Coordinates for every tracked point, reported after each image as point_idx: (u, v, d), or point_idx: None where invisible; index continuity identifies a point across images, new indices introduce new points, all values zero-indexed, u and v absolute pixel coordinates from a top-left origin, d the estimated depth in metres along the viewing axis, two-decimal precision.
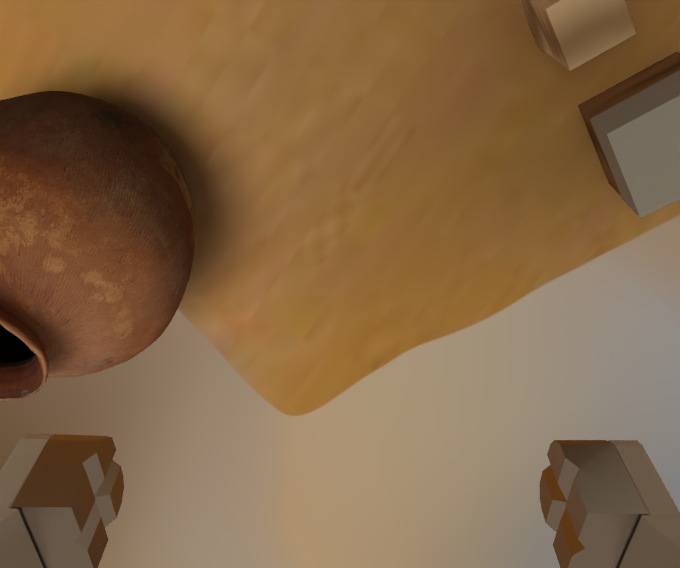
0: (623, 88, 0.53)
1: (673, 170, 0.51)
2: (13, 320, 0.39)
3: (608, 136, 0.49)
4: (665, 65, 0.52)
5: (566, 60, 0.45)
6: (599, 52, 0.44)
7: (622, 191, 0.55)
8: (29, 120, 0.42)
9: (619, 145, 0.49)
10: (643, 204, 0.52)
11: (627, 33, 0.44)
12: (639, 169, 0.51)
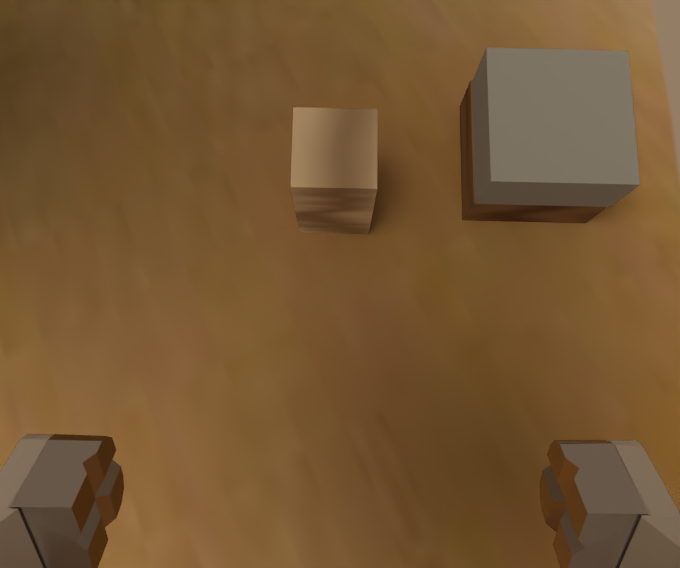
0: (465, 164, 0.43)
1: (587, 126, 0.37)
2: None
3: (495, 180, 0.36)
4: (464, 117, 0.44)
5: (362, 188, 0.35)
6: (375, 151, 0.35)
7: (594, 200, 0.39)
8: None
9: (515, 172, 0.36)
10: (620, 174, 0.36)
11: (371, 117, 0.35)
12: (564, 161, 0.36)
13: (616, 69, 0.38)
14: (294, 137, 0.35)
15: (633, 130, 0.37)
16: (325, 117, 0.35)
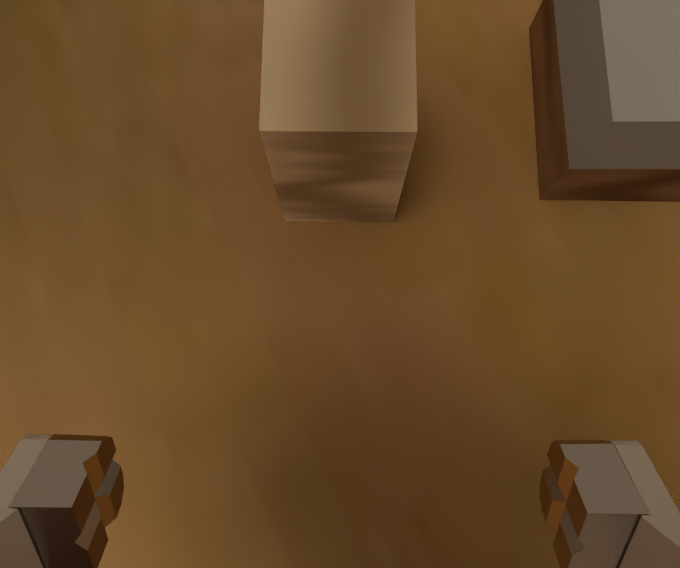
0: (545, 111, 0.27)
1: None
2: None
3: (620, 120, 0.20)
4: (539, 40, 0.28)
5: (390, 131, 0.19)
6: (412, 66, 0.19)
7: None
8: None
9: (655, 105, 0.21)
10: None
11: (404, 7, 0.20)
12: None
13: None
14: (266, 44, 0.20)
15: None
16: (321, 8, 0.20)
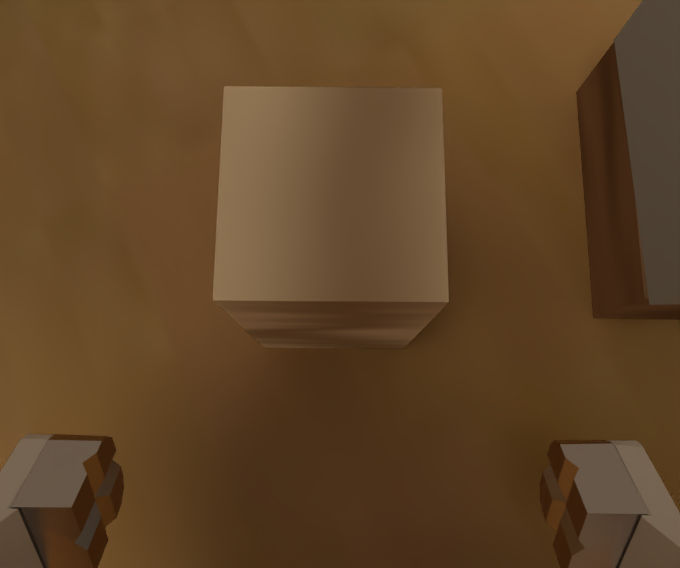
0: (603, 207, 0.21)
1: None
2: None
3: None
4: (594, 111, 0.22)
5: (408, 300, 0.13)
6: (439, 199, 0.13)
7: None
8: None
9: None
10: None
11: (426, 108, 0.14)
12: None
13: None
14: (225, 164, 0.13)
15: None
16: (305, 110, 0.14)
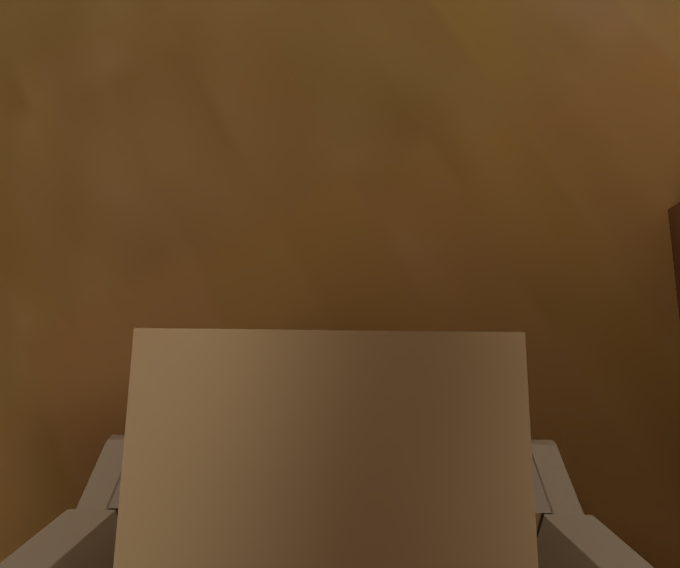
0: None
1: None
2: None
3: None
4: None
5: None
6: (526, 558, 0.07)
7: None
8: None
9: None
10: None
11: (499, 374, 0.07)
12: None
13: None
14: (130, 487, 0.07)
15: None
16: (279, 376, 0.08)
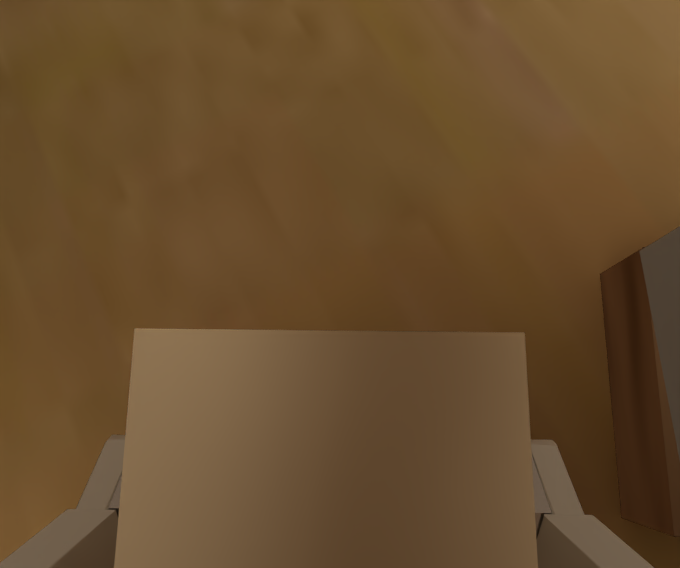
0: (629, 411, 0.21)
1: None
2: None
3: None
4: (618, 307, 0.22)
5: None
6: (525, 558, 0.07)
7: None
8: None
9: None
10: None
11: (498, 375, 0.08)
12: None
13: None
14: (130, 487, 0.07)
15: None
16: (279, 376, 0.08)
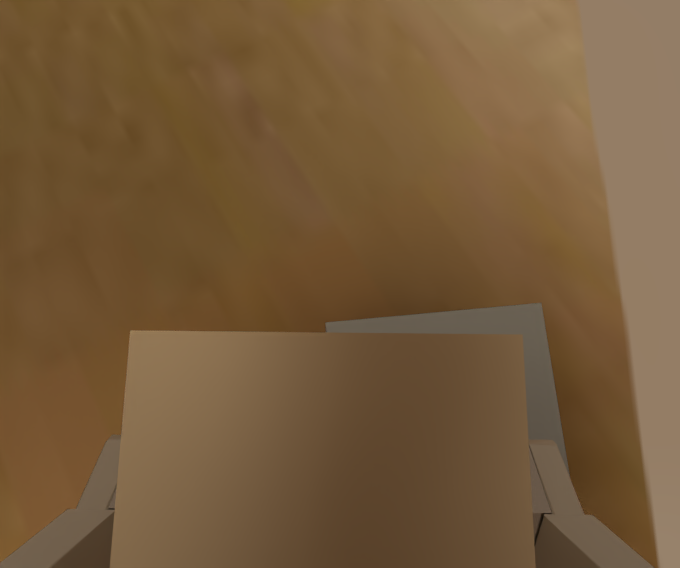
0: None
1: None
2: None
3: None
4: None
5: None
6: (523, 562, 0.07)
7: None
8: None
9: None
10: None
11: (496, 377, 0.07)
12: None
13: (526, 336, 0.25)
14: (126, 490, 0.07)
15: (560, 438, 0.24)
16: (276, 379, 0.08)
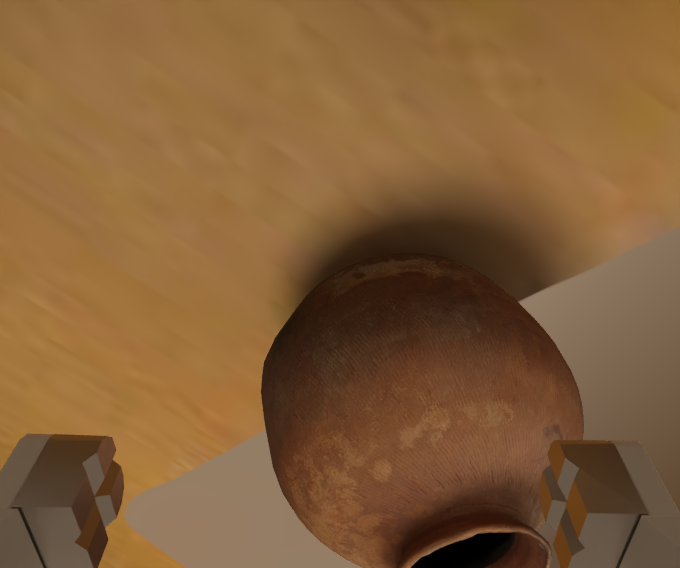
0: None
1: None
2: (428, 537, 0.34)
3: None
4: None
5: None
6: None
7: None
8: (266, 417, 0.42)
9: None
10: None
11: None
12: None
13: None
14: None
15: None
16: None
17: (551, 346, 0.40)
